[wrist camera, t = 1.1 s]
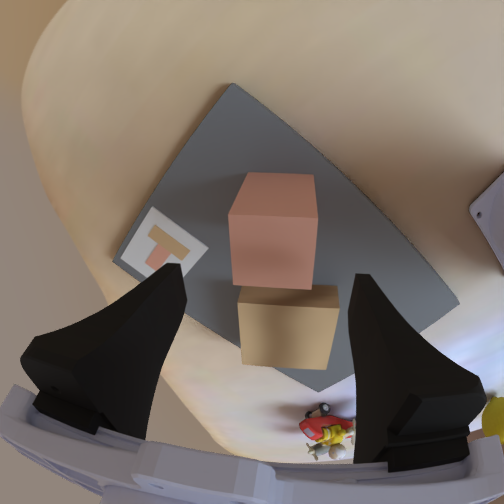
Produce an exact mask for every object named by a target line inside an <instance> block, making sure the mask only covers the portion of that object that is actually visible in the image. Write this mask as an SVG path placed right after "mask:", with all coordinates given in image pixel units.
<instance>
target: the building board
mask: <svg viewBox="0 0 504 504" xmlns="http://www.w3.org/2000/svg"><path fill="white" fill-rule="evenodd" d="M248 172H259V173H291V174H312V175H314V183H315V192H316V202H317V212H318V227H317V238H316V249H315V260H314V270H313V280H312V285H331V286H337V288H338V296H339V306H340V310H339V315H338V320H337V325H336V329H335V334H334V338H333V343H332V347H331V352H330V356H329V360H328V364H327V368H326V370H316V369H296V368H280V367H273V368H275V369H277V370H278V371H280V372H282V373H284V374H285V375H287V376H289V377H291V378H293V379H294V380H296V381H298V382H300V383H302V384H304V385H305V386H307V387H309V388H311V389H313V390H315V391H317V392H320V391H322V390H324V389H326V388H328V387H330V386H332V385H334V384H336V383H337V382H339V381H341V380H343V379H345V378H347V377H348V376H350V375H352V374H354V373H355V371H354V365H353V358H352V352H351V345H350V339H349V333H348V307H349V302H350V298H351V293H352V288H353V283H354V278H355V273H358V274H370V275H371V276H372V277H373V279H374V280H375V281H376V283H377V284H378V286H379V287H380V288H381V290H382V291H383V292H384V294H385V295H386V296H387V298H388V299H389V300H390V302H391V303H392V304H393V306H394V307H395V308H396V309H397V311H398V312H399V313H400V314H401V315H402V316H403V318H404V319H405V320H406V321H407V322H408V323H409V324H410V325H411V326H412V327H413V328H414V329H415V330H416V331H417V332H418V333H420V332H421V331H423V330H424V329H426V328H427V327H429V326H430V325H432V324H433V323H434V322H436V321H437V320H439V319H440V318H441V317H443V316H444V315H445V314H447V313H448V312H449V311H451V310H452V309H453V308H455V307H456V306H457V305H459V304H460V303H459V301H458V299H457V297H456V296H455V295H454V294H453V292H452V291H451V290H450V288H449V287H448V286H447V285H446V284H445V282H444V281H443V280H442V279H441V277H440V276H439V275H438V274H437V273H436V271H435V270H434V269H433V268H432V267H431V265H430V264H429V263H428V262H427V261H426V260H425V258H424V257H423V256H422V255H421V254H420V253H419V252H418V250H417V249H416V248H415V247H414V246H413V245H412V244H411V243H410V241H409V240H408V239H407V238H406V237H405V236H404V235H403V234H402V233H401V232H400V231H399V229H398V228H397V227H396V226H395V225H394V224H393V223H392V222H391V221H390V220H389V219H388V218H387V217H386V216H385V215H384V214H383V213H382V212H381V210H380V209H379V208H378V207H377V206H376V205H375V204H374V203H373V202H372V201H371V200H370V199H369V198H368V197H367V196H366V195H365V194H364V193H363V192H362V191H361V190H360V189H359V188H358V187H357V186H355V185H354V184H353V183H352V182H351V181H350V180H349V179H348V178H347V177H346V176H345V175H344V174H343V173H342V172H341V171H340V170H339V169H338V168H337V167H335V166H334V165H333V164H332V163H331V162H330V161H329V160H328V159H327V158H326V157H324V156H323V155H322V154H321V153H320V152H319V151H318V150H317V149H316V148H314V147H313V146H312V145H311V144H310V143H309V142H308V141H306V140H305V139H304V138H303V137H302V136H301V135H299V134H298V133H297V132H296V131H295V130H293V129H292V128H291V127H290V126H289V125H287V124H286V123H285V122H284V121H283V120H281V119H280V118H279V117H278V116H276V115H275V114H274V113H273V112H271V111H270V110H269V109H268V108H266V107H265V106H264V105H263V104H261V103H260V102H259V101H257V100H256V99H255V98H254V97H252V96H251V95H250V94H248V93H247V92H246V91H244V90H243V89H242V88H240V87H239V86H238V85H236V84H235V83H232V84H231V85H230V86H229V87H228V88H227V90H226V91H225V92H224V93H223V95H222V96H221V97H220V99H219V100H218V101H217V102H216V104H215V105H214V106H213V108H212V109H211V110H210V112H209V113H208V114H207V115H206V117H205V118H204V119H203V121H202V122H201V123H200V125H199V126H198V128H197V129H196V130H195V132H194V133H193V134H192V136H191V137H190V139H189V140H188V141H187V143H186V144H185V146H184V147H183V148H182V150H181V151H180V153H179V154H178V156H177V157H176V159H175V160H174V161H173V163H172V164H171V166H170V167H169V169H168V170H167V172H166V173H165V175H164V176H163V178H162V179H161V181H160V182H159V184H158V185H157V187H156V189H155V190H154V192H153V193H152V195H151V196H150V198H149V200H148V201H147V203H146V204H145V206H144V208H143V209H142V211H141V212H140V214H139V216H138V217H137V219H136V221H135V222H134V224H133V226H132V227H131V229H130V231H129V232H128V234H127V236H126V238H125V239H124V241H123V243H122V245H121V246H120V248H119V250H118V252H117V253H116V255H115V257H114V259H113V261H112V262H114V263H115V264H116V265H118V266H119V267H120V268H122V269H123V270H125V271H126V272H127V273H129V274H130V275H131V276H133V277H134V278H135V279H137V280H138V281H140V282H143V281H144V280H145V279H146V278H148V277H149V276H150V275H151V274H153V273H154V272H155V271H157V270H158V269H159V268H160V267H162V266H163V265H165V264H166V263H180V264H181V269H182V275H183V280H184V285H185V290H186V296H187V304H186V308H185V312H184V313H186V314H187V315H189V316H190V317H192V318H194V319H195V320H197V321H198V322H200V323H201V324H203V325H204V326H206V327H207V328H209V329H211V330H212V331H214V332H215V333H217V334H218V335H220V336H222V337H223V338H225V339H226V340H228V341H230V342H231V343H233V344H234V345H236V346H238V347H239V348H241V343H240V330H239V317H238V304H237V302H238V298H239V295H240V291H241V287H242V286H241V285H233V276H232V263H231V250H230V236H229V221H228V214H229V211H230V209H231V207H232V205H233V203H234V201H235V199H236V197H237V194H238V192H239V190H240V188H241V186H242V184H243V182H244V180H245V178H246V176H247V173H248Z"/></svg>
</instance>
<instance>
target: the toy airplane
mask: <svg viewBox="0 0 504 504" xmlns="http://www.w3.org/2000/svg"><path fill="white" fill-rule="evenodd" d="M329 411H330V408H329V405H328V404H326V403H322V404H321V405H320V406H319V409H318V410H316V411H314V412H308V413H306V415H305V418H306V419H305V420H303V421H302V422H300V423H299V426H300V428H301V430H302V431H303V433H304V434H305V435H306V436H307V437H308V438H310V439H311V440H315V441H316V442H320V443H318V444H316V445H313V446H311V447H310V446H309V444H308V443H306V445H307V446H308V448H309V451H308V454H312V455H313V456H314V458H315V460H316V461H317V460H318V457H317V456H319V455H323V454H325V453H327V452H329V456H330V457H331V458H332V459H334V460H338V459H341V458H343V457H344V456H345V454H346V449H345V447H344V446H343V445H342V444H340V443H341V442H342V440H343V439H344V438H350V437H351V438H352V440H351V443H352V445H354V444H355V434H356V420H355V419H353V421H351V422H350V421H346V420H343V419H340V418H337V417H334V416H331V415H329V416H327V413H329Z"/></svg>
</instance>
